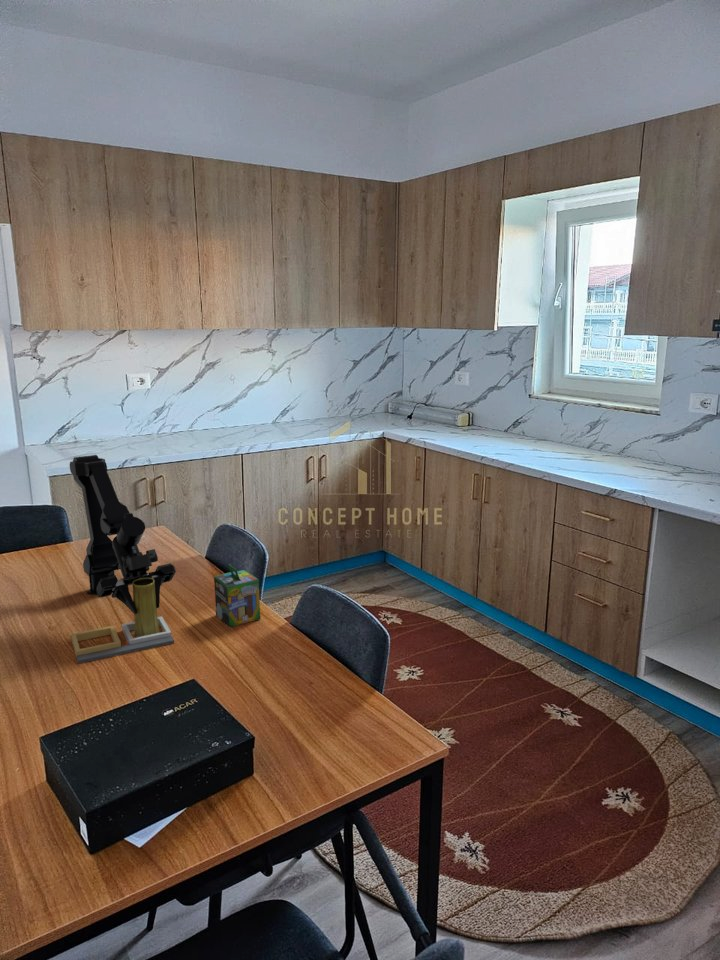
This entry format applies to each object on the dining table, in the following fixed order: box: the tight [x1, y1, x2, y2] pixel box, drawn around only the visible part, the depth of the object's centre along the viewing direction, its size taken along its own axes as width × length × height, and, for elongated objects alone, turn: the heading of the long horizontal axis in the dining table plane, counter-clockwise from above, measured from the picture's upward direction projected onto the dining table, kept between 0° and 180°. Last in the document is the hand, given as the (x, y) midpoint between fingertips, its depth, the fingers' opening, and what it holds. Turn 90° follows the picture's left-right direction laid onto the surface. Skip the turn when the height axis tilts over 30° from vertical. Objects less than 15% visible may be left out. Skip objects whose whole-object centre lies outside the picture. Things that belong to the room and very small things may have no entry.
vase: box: [132, 578, 160, 638], centre depth 169 cm, size 6×6×14 cm
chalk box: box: [213, 563, 261, 628], centre depth 180 cm, size 9×9×15 cm
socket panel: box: [70, 616, 175, 664], centre depth 167 cm, size 22×12×2 cm, turn 118°
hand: (147, 610), depth 168 cm, fingers open, 5 cm apart
